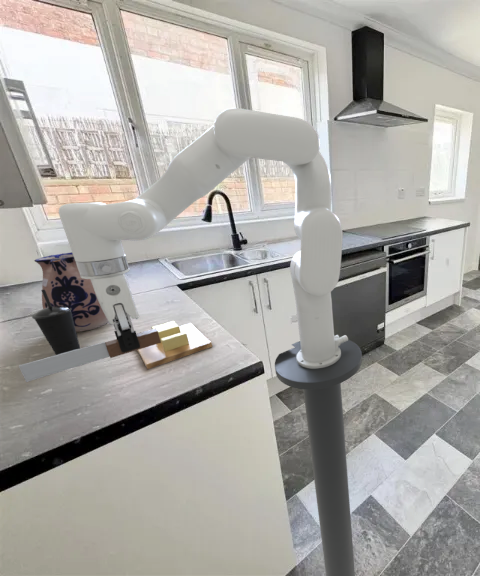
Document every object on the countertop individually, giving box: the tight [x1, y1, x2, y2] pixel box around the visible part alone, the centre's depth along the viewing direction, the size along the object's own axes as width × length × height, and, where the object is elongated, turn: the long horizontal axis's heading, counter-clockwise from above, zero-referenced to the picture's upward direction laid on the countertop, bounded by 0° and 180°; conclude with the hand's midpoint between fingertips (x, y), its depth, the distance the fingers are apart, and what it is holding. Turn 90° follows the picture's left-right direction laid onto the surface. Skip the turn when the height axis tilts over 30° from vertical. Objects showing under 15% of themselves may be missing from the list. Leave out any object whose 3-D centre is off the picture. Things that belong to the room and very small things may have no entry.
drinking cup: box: [31, 289, 81, 355], centre depth 86 cm, size 8×8×20 cm
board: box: [136, 322, 213, 370], centre depth 93 cm, size 16×20×2 cm
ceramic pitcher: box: [33, 251, 109, 333], centre depth 104 cm, size 18×21×25 cm
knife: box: [18, 328, 161, 383], centre depth 64 cm, size 21×2×4 cm, turn 136°
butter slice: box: [161, 331, 189, 352], centre depth 89 cm, size 6×2×4 cm, turn 136°
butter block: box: [151, 320, 181, 343], centre depth 95 cm, size 6×6×4 cm
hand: (129, 346), depth 68 cm, fingers closed on knife, 2 cm apart
